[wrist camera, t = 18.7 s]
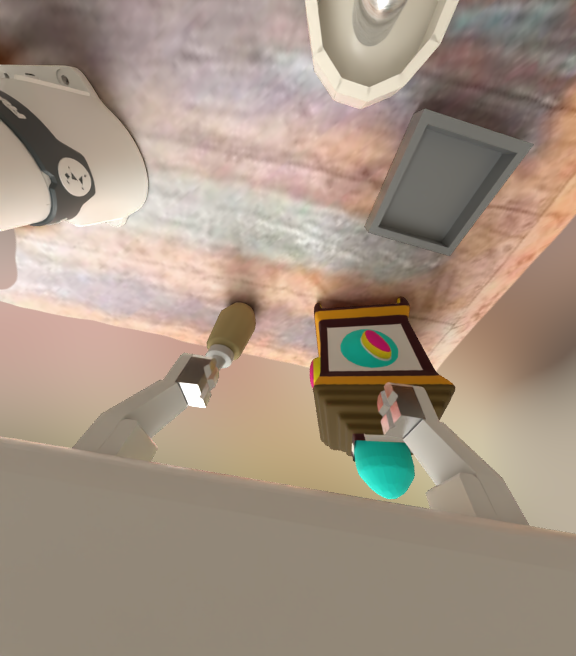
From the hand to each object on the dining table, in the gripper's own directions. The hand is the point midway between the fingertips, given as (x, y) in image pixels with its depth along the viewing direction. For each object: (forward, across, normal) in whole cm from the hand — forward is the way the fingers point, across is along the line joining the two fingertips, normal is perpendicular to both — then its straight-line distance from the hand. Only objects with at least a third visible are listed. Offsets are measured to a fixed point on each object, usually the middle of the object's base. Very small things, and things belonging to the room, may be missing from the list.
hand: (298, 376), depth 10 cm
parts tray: (+31, -16, -6) cm, 35 cm away
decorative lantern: (+31, -13, +21) cm, 40 cm away
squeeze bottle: (+31, +13, +20) cm, 40 cm away
